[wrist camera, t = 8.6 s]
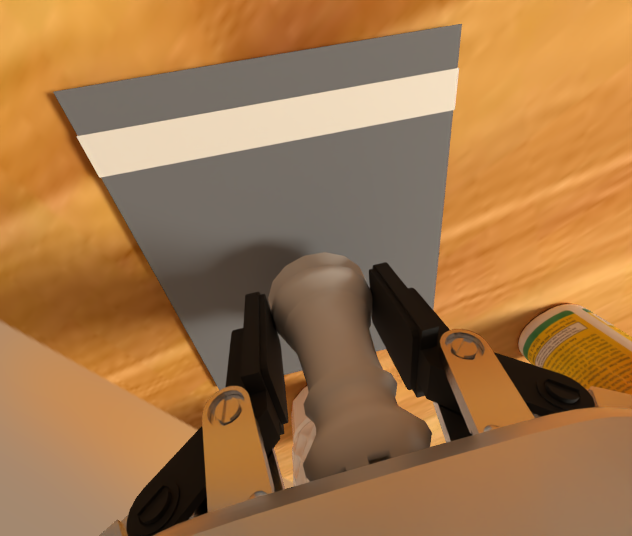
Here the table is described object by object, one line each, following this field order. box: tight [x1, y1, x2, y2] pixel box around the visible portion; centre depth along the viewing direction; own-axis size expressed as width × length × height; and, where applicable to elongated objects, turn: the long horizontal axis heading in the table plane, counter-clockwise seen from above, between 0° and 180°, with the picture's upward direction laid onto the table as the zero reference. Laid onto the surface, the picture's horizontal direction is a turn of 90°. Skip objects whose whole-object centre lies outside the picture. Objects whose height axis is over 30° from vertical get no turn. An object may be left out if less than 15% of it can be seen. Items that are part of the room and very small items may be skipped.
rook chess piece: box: [268, 252, 432, 482], centre depth 9 cm, size 4×4×8 cm
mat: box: [54, 24, 462, 390], centre depth 14 cm, size 16×14×1 cm
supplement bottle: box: [518, 304, 632, 395], centre depth 17 cm, size 5×5×10 cm
